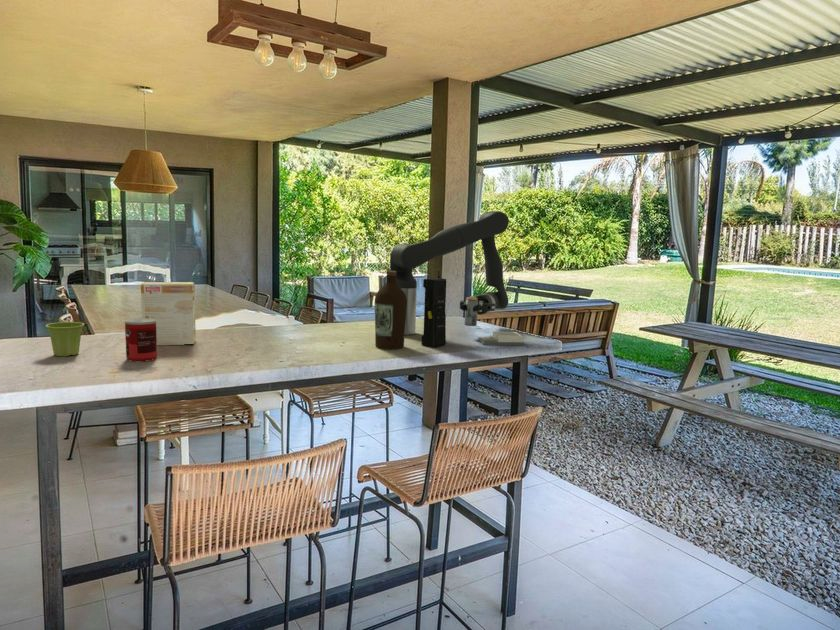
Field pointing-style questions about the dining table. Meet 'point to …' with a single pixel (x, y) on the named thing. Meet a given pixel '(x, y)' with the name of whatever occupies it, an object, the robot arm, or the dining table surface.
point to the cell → (471, 311)
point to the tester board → (503, 339)
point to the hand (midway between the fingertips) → (469, 307)
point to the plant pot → (65, 337)
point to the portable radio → (434, 312)
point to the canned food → (141, 339)
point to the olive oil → (390, 314)
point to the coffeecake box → (170, 311)
